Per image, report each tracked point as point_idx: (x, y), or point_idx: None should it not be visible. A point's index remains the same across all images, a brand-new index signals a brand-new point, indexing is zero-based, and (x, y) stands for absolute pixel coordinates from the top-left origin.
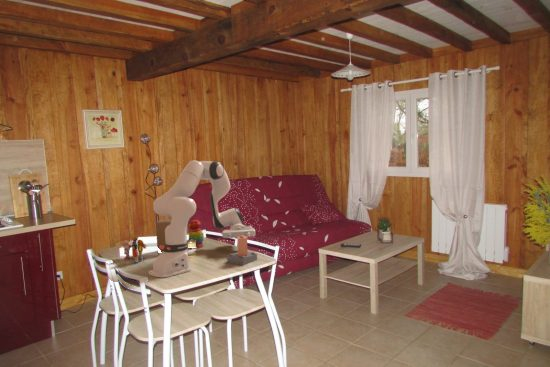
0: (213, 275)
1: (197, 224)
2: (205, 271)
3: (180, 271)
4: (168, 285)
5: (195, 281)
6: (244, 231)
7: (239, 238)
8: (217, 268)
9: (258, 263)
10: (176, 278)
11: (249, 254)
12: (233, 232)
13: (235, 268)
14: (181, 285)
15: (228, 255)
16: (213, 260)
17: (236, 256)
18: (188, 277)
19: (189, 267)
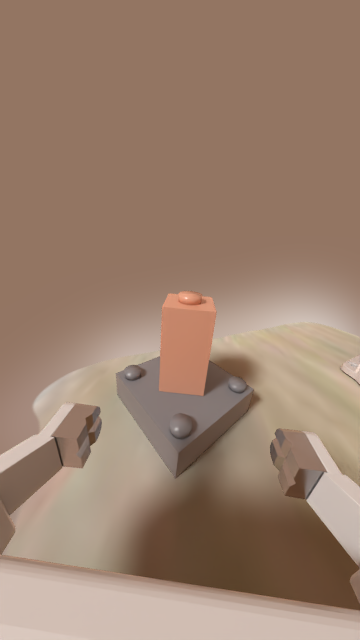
0: (257, 336)
1: None
2: (290, 357)
3: (356, 357)
4: (324, 328)
5: (282, 328)
6: (24, 558)
7: (205, 297)
8: (263, 364)
9: (135, 361)
10: (336, 344)
11: (151, 374)
12: (352, 612)
13: (210, 351)
14: (299, 324)
15: (247, 390)
16: (333, 457)
17: (209, 369)
18: (311, 342)
19: (354, 371)
